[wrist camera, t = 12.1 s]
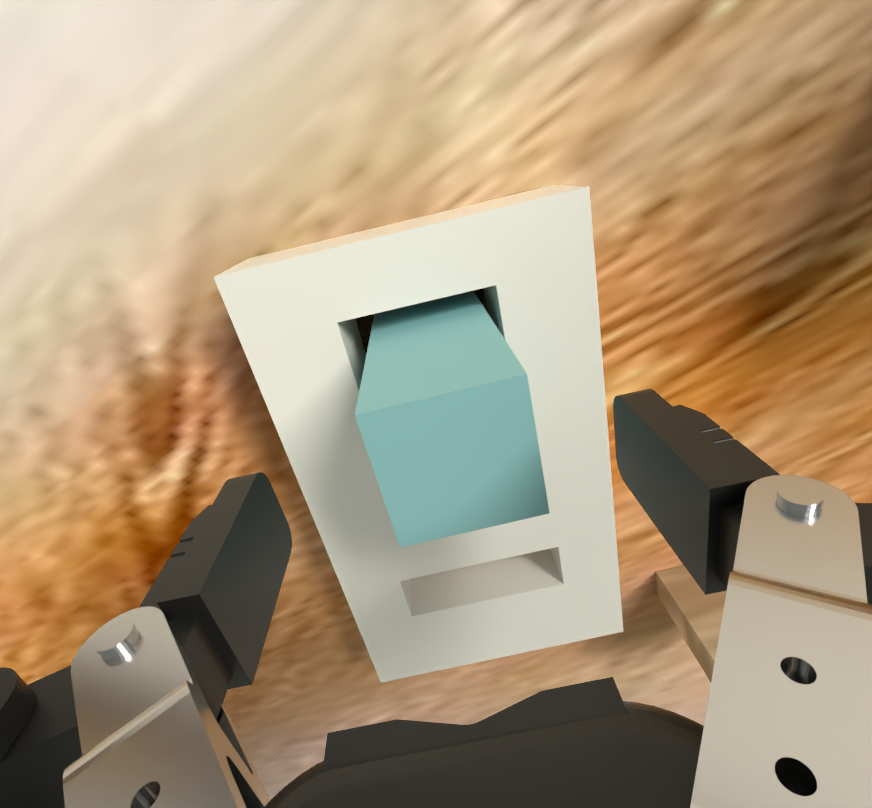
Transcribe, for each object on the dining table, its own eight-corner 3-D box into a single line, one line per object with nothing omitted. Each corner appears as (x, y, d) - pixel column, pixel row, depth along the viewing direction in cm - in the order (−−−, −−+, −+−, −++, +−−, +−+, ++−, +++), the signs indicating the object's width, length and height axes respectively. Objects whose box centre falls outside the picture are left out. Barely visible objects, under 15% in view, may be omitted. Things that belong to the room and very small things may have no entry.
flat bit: (655, 571, 27) (718, 668, 22) (744, 552, 27) (829, 645, 22) (656, 594, 28) (717, 693, 23) (742, 576, 28) (824, 671, 23)
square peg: (375, 308, 20) (354, 415, 11) (469, 285, 20) (527, 373, 11) (400, 394, 22) (399, 547, 13) (487, 373, 22) (549, 513, 13)
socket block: (249, 258, 19) (213, 277, 15) (552, 184, 19) (588, 186, 15) (383, 615, 27) (380, 682, 24) (593, 570, 27) (623, 631, 23)
